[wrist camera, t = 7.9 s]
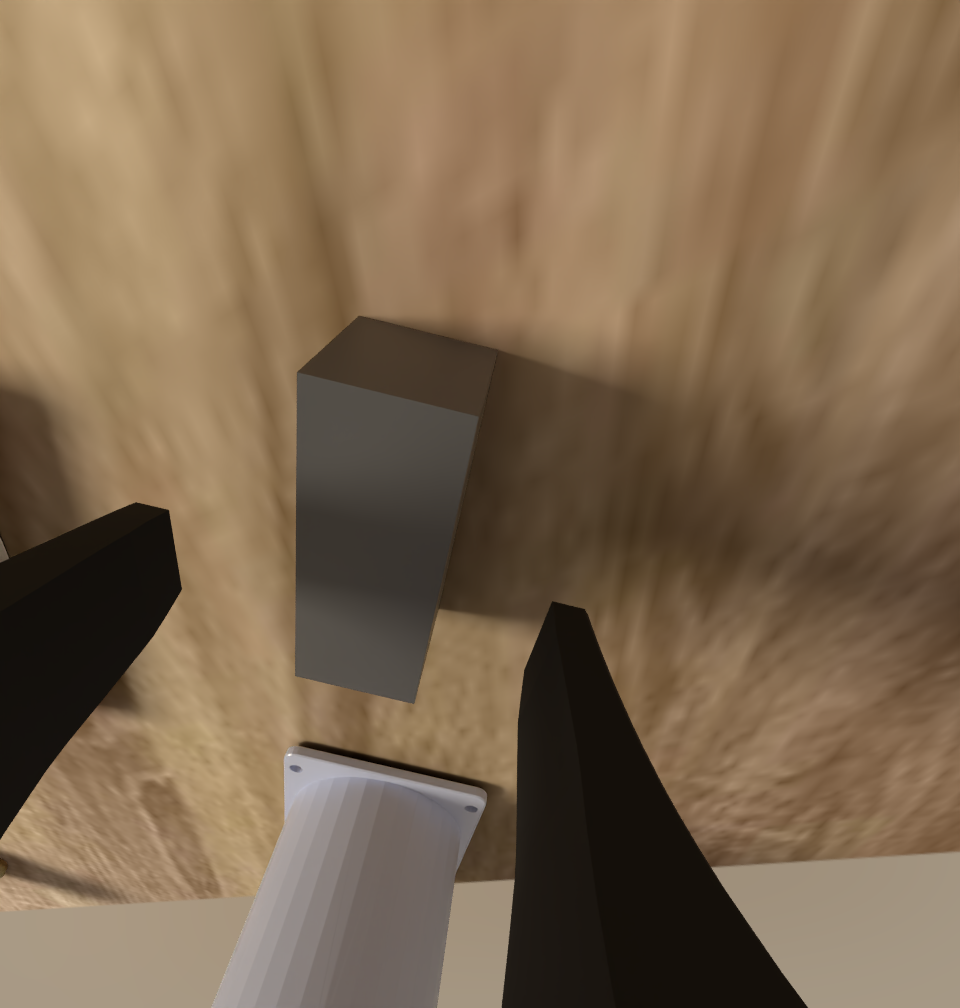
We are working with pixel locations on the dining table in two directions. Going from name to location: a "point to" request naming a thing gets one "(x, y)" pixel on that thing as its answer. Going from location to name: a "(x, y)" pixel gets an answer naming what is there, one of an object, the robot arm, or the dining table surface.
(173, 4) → the dining table surface
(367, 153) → the dining table surface
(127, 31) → the dining table surface
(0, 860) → the chocolate bunny
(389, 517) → the lid
